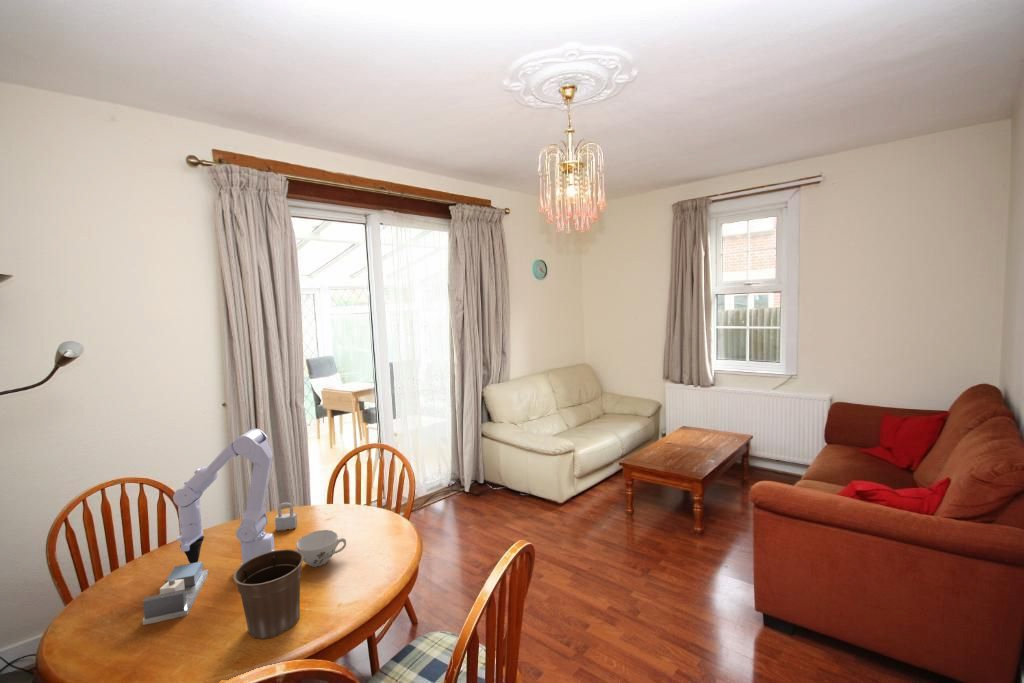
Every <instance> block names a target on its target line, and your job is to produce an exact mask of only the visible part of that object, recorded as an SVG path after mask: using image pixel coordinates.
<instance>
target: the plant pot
mask: <svg viewBox="0 0 1024 683" xmlns="http://www.w3.org/2000/svg"><path fill="white" fill-rule="evenodd" d="M303 562H304V561H303V555H302V553H300V552H299V551H298V550H297V549H291V548H290V549H285V548H284V549H275V551H271V552H267V553H264V554H261V555H258V556H256V557H254V558H252V559H250V560H248V561H246V562H245V563H243V564H242V563H241V564H242V565H241V564H240V566H238V567H237V568H236V570H235V571H234V573H233V581H234V583H235V584H236V586H237V591H238V594H239V595H240V597H241V602H242V607H243V611H244V617H245V622H246V626H247V632H248V634H250V636H251V637H252V638H254V639H259V640H263V639H264V640H265V639H272V638H274V636H275V637H277V636H279V634H280V635H282V633H284V632H285V631H286V630H290V629H291V628H293V626H295V625H296V624H297V622H298V621H299V619H300V612H301V611H300V610H301V609H300V604H301V603H300V602H301V601H300V600H301V599H300V597H301V575H302V564H303Z"/></svg>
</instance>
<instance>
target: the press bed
mask: <svg viewBox="0 0 1024 683" xmlns="http://www.w3.org/2000/svg"><path fill="white" fill-rule="evenodd" d="M208 575H209V569H208V568H207V569H203V571H202V572H201V574H200V576H199V578H198V580H197V582H196V583H195V585H191V586H186V587H185V589H184V590H179V591H174V592H169V593H164V594H160V593H159V594H156V595H151V596H145V598H144V599H143V600H142V606H143V614H144V616H143V619H142V626H145V625H151V624H154V623H155V624H156V623H159V622H164V621H167V620H174V619H177V618H182V617H185V616H186V615H187V616H188V614H189V613H190V611H191V608H192V607H193V605H194V604H195V601H196V599H197V597H198V596H199V593H200V592H201V589H202V587H203V586H202V585H204V584H205V581H206V580H207V578H208ZM203 583H204V584H203Z"/></svg>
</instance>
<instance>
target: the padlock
mask: <svg viewBox="0 0 1024 683" xmlns="http://www.w3.org/2000/svg"><path fill="white" fill-rule="evenodd" d="M285 506H287V507H288V508H289V512H288V513H287V512H286V513H282V508H283V507H285ZM274 524H275V525H274V526H275V531H287V530H286V529H289V530H292V529H291V528H295V529H296V528H297V526H298V525H297V524H298V513H297V512H294V505H292V503H290V502H282V503H280V504H279V505H278V507H277V515H276V516H275V517H274Z"/></svg>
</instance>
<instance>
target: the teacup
mask: <svg viewBox="0 0 1024 683" xmlns="http://www.w3.org/2000/svg"><path fill="white" fill-rule="evenodd" d="M340 543H343V545H342V547H341V548H339V549H337V547H338V545H339V544H340ZM295 545H296V551H299V552H300V553H302V555H303V562H304V563H305V564H306V565H308V566H309V567H311V566H312V567H311V568H318V567H317V566H319V567H322V566H323V564H324V565H325V563H326V564H327V563H328V562H329V560H331V558H332V557H333V555H335V554H337V553H339V552H342V551H343V550H344V549H345V548H346V546H347V540H346V538H343V537H342V538H339V536H338V533H337V532H335V531H333V530H330V529H322V530H316V531H312V532H310V533H307V534H305V535H302V536H301V537H300V538H299V539H298V540H297V541H296V544H295ZM321 565H322V566H321Z"/></svg>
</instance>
